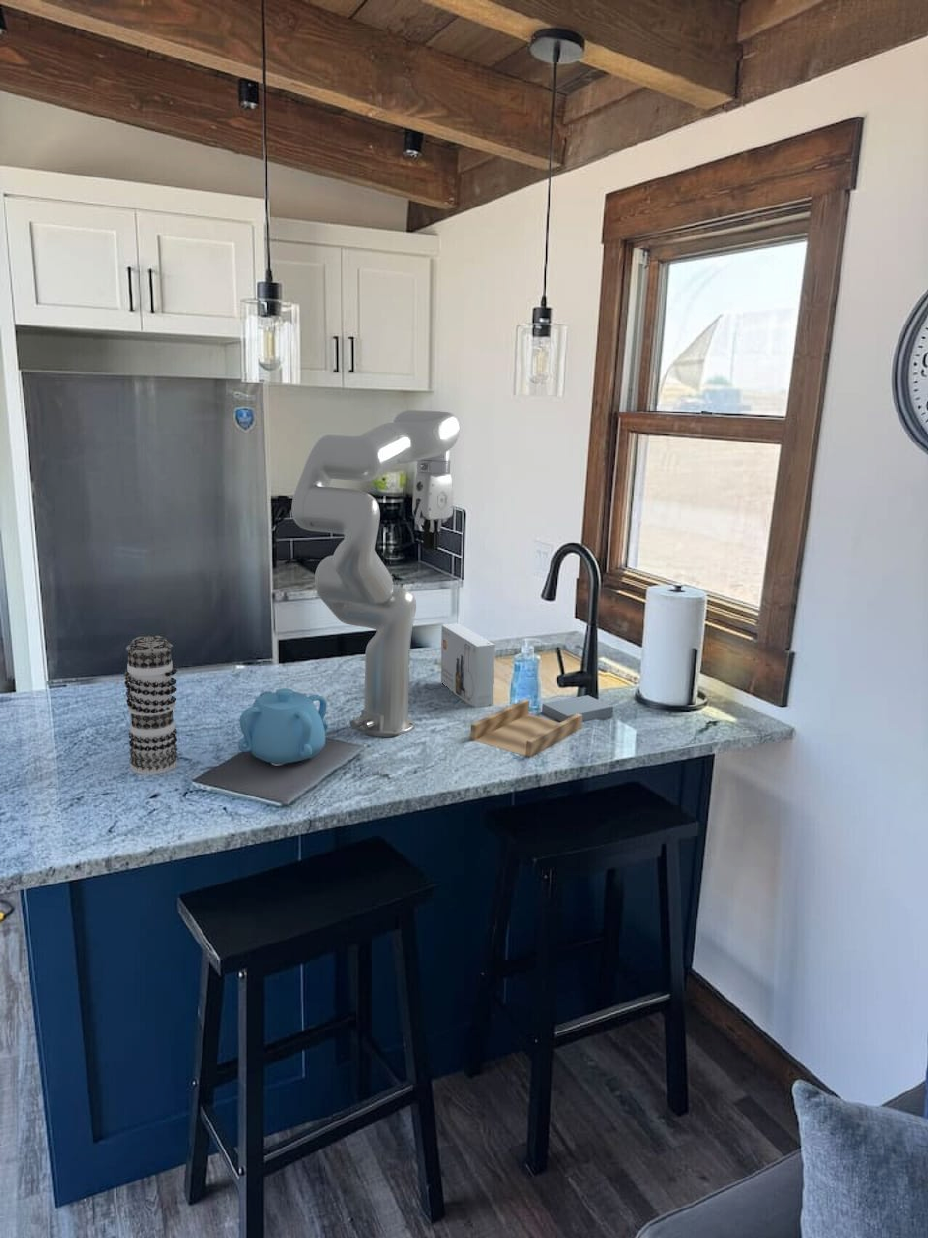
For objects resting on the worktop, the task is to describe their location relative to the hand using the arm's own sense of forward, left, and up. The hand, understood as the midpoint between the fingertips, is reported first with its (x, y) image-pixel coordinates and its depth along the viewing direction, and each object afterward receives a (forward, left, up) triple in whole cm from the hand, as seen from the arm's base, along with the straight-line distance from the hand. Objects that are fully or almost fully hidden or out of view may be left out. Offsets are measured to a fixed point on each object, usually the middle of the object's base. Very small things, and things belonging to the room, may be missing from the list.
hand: (430, 548), depth 195 cm
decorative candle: (-65, +14, -37) cm, 76 cm away
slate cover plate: (+16, -33, -38) cm, 53 cm away
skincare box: (+10, -5, -37) cm, 39 cm away
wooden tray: (-3, -31, -37) cm, 48 cm away
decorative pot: (-45, 0, -37) cm, 58 cm away
